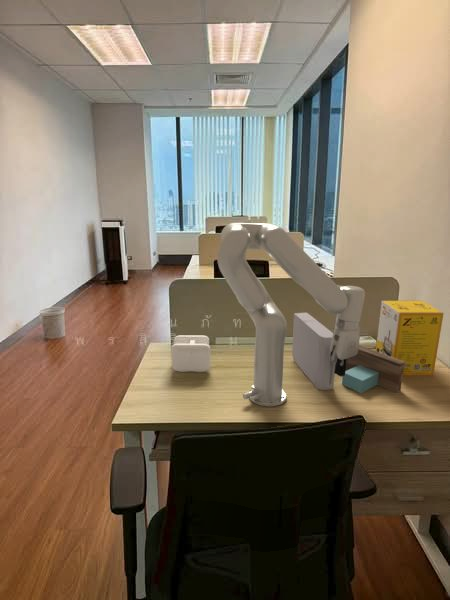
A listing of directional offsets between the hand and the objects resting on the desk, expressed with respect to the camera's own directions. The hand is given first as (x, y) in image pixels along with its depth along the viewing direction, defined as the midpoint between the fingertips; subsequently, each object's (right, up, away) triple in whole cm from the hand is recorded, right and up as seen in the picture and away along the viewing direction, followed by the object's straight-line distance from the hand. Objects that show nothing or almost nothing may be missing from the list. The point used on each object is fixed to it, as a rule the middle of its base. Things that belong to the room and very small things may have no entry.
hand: (339, 374), depth 132 cm
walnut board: (+15, -4, +12) cm, 20 cm away
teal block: (+10, -6, +9) cm, 15 cm away
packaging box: (+32, -1, +24) cm, 40 cm away
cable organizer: (-52, -2, +22) cm, 57 cm away
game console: (-6, -3, +18) cm, 19 cm away
